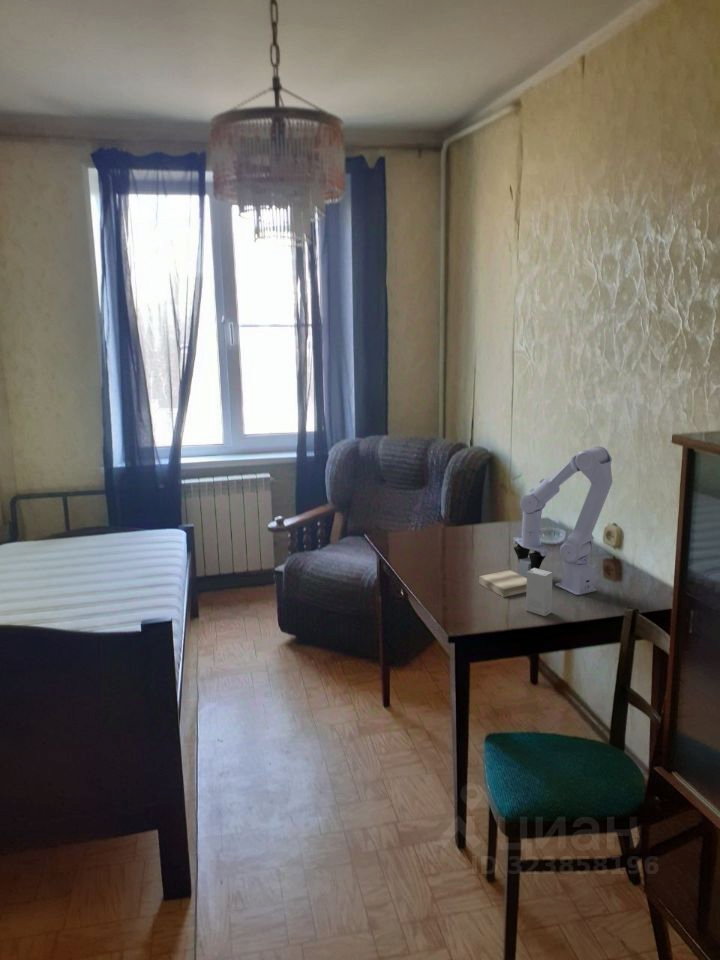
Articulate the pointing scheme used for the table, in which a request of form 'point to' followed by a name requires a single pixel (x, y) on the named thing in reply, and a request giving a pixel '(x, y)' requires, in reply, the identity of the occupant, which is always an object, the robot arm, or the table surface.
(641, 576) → the table surface
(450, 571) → the table surface
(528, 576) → the skincare box
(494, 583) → the birch base
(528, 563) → the slate block
